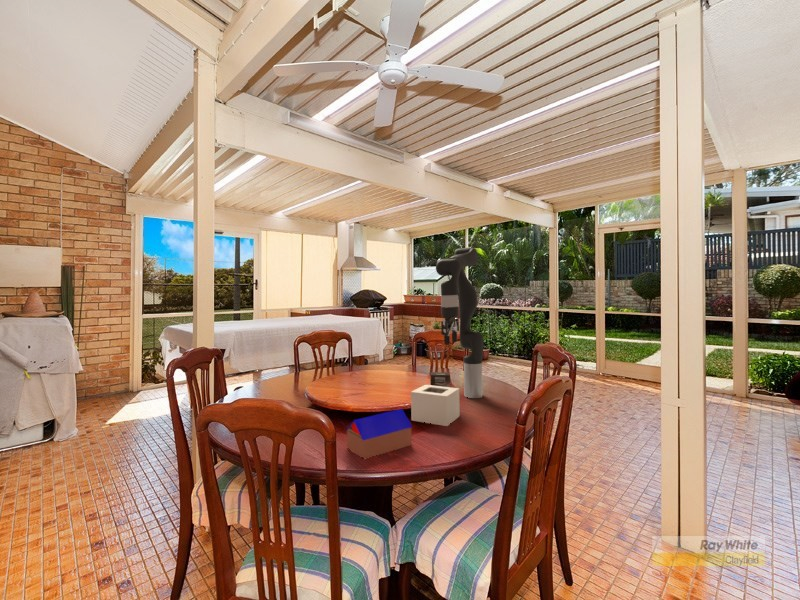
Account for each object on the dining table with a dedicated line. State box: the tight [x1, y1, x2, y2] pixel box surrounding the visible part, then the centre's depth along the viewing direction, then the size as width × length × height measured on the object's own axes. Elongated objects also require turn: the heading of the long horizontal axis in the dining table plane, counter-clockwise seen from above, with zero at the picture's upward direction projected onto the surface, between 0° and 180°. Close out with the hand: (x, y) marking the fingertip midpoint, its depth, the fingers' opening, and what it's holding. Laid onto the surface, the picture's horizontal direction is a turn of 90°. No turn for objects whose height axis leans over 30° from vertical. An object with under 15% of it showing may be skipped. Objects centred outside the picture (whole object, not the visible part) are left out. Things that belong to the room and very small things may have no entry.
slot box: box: [410, 384, 461, 427], centre depth 165 cm, size 14×16×12 cm
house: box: [345, 408, 413, 459], centre depth 136 cm, size 12×20×12 cm, turn 126°
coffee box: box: [429, 371, 451, 387], centre depth 179 cm, size 9×6×16 cm
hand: (450, 343), depth 168 cm, fingers open, 8 cm apart
